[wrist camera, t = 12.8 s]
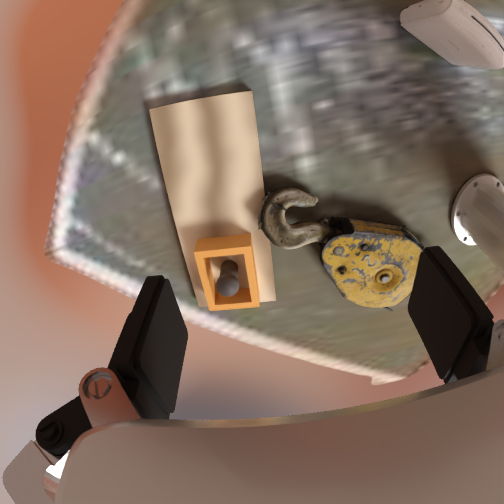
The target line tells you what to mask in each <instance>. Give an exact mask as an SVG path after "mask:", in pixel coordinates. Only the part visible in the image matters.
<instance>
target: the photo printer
mask: <svg viewBox="0 0 504 504" xmlns="http://www.w3.org/2000/svg"><path fill="white" fill-rule="evenodd" d="M400 22H401V26H402V27H403V28H405V29H406V30H407V31H408V32H409V33H411V34H412V35H413V36H415V37H416V38H417V39H419V40H420V41H421V42H423V43H424V44H425V45H427V46H428V47H429V48H430V49H432V50H433V51H434V52H436V53H437V54H438V55H440V56H441V57H442V58H444V59H445V60H446V61H448V62H449V63H451V64H453V65H460V66H471V67H481V68H490V69H500V68H503V67H504V39H503V38H502V37H501V35H500V34H499V33H498V31H497V30H496V29H495V28H494V26H493V25H491V23H490V22H489V21H488V20H487V19H486V18H485V17H484V16H483V15H481V14H480V13H479V12H478V11H477V10H476V9H474V8H473V7H472V6H470V5H469V4H468V3H466V2H465V1H463V0H425V1H422V2H419V3H416V4H413V5H410V6H409V7H408V8H406V9H404V10H403V11H402V12H401V14H400Z"/></svg>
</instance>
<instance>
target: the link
mask: <svg viewBox="0 0 504 504" xmlns="http://www.w3.org/2000/svg"><path fill="white" fill-rule="evenodd" d="M238 254H244V257H245V263H246V270H247V276H248V282H249V288H243V289H238V291H237V293H236V294H234V295H233V296H230V297H226V296H223V295H221V294H220V293H219V292H218V291H217V288H216V284H215V280H214V276H213V272H212V268H211V263H210V259H209V257H218V256H228V255H238ZM194 255H195V259H196V263H197V267H198V270H199V274H200V278H201V282H202V285H203V289H204V293H205V296H206V300H207V303H208V307H209V310H210V311H213V310H226V309H239V308H251V307H260V300H259V287H258V279H257V272H256V265H255V258H254V251H253V243H252V236H251V234H241V235H232V236H223V237H214V238H205V239H197V243H196V246H195V249H194Z"/></svg>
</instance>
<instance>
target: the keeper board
mask: <svg viewBox="0 0 504 504" xmlns="http://www.w3.org/2000/svg"><path fill="white" fill-rule="evenodd" d="M149 111H150V116H151V121H152V126H153V131H154V136H155V140H156V145H157V150H158V154H159V159H160V163H161V168H162V172H163V176H164V180H165V185H166V189H167V193H168V197H169V201H170V205H171V209H172V213H173V217H174V221H175V224H176V228H177V232H178V236H179V239H180V243H181V247H182V250H183V254H184V257H185V261H186V264H187V268H188V271H189V275H190V278H191V282H192V285H193V288H194V292H195V295H196V298H197V301H198V305H199V307H208V303H207V300H206V296H205V293H204V289H203V285H202V282H201V278H200V274H199V270H198V267H197V263H196V259H195V255H194V249H195V246H196V243H197V239H205V238H214V237H223V236H232V235H241V234H251V236H252V243H253V251H254V258H255V265H256V272H257V279H258V287H259V300H260V302H267V301H276V295H275V285H274V275H273V266H272V256H271V246H270V240H269V239H268V238H267V237H266V236H265V234H264V233H263V231H262V230H261V229H259V230H258V228H259V226H258V224H257V223H258V221H259V220H258V216H259V214H260V212H261V208H262V205H263V201H262V199H263V198H265V192H264V183H263V175H262V166H261V158H260V150H259V142H258V134H257V126H256V118H255V110H254V102H253V94H252V91H244V92H237V93H229V94H222V95H216V96H210V97H204V98H198V99H193V100H188V101H183V102H178V103H173V104H169V105H164V106H160V107H156V108H152V109H149ZM257 230H258V231H257ZM209 259H210V263H211V268H212V272H213V276H214V280H215V284H216V288H217V291H218V292H219V293H220V294H221V295H223V296H226V297H230V296H233V295H234V294H236V293H237V291H238V289H243V288H249V282H248V276H247V270H246V263H245V257H244V254H238V255H228V256H218V257H209Z"/></svg>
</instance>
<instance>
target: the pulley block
mask: <svg viewBox="0 0 504 504" xmlns="http://www.w3.org/2000/svg"><path fill="white" fill-rule="evenodd" d="M267 192H268V195H267V196H266V197H265V198H263V199H262V201H263V205H262V208H261V212H260V214H259V216H258V220H259V221H258V223H257V224H258V226H259V228H258V230H259V229H261V230H262V231H263V233H264V234H265V236H266V237H267V238H268V239H269V240H270V241H271V242H272V243H273V244H274V245H276V246H278V247H281V248H284V249H295V248H299V247H302V246H304V245H307V244H309V243H312V242H319V245H320V260H321V262H322V265H323V267H324V268H325V270H326V271H327V273H328V274H329V276H330V277H331V279H332V280H333V282H334V283H335V285H336V287H337V288H338V290H339V291H340V293H341V295H342V296H343V297H344V298H346V299H348V300H350V301H352V302H354V303H356V304H358V305H361V306H365V307H373V308H379V307H383V308H385V309H387V310H389V311H392V309H390V308H388V307H389V306H393V305H396V304H398V303H399V302H400V301H401V300H403V299H404V298H405V297H406V296H407V295H410V294H411V292H412V288H413V283H414V279H415V275H416V270H417V266H418V261H419V256H420V253H421V252H423V248H424V246H423V245H422V244H421V243H420V241H418V240H417V237H415V236H414V235H413V234H412V233H411V232H409V231H408V230H407V229H405V228H404V227H405V226H402V227H401V226H396V225H388V224H382V223H380V222H377V223H375V222H369V221H362V220H356V219H351V218H339V217H336V218H334V217H331V218H330V219H329V220H327V218H322V219H320V220H318V221H312V222H300V221H298V222H296V223H294V224H288V223H287V221H286V219H285V211H286V210H287V208H289V207H291V206H297V207H313V206H315V204H316V203H317V202H318V198H317V197H316V196H314V195H311V194H309V193H306V192H304V191H302V190H300V189H297V188H292V187H286V188H282V189H277V190H276V191H274V192H272V193H271V192H269V191H267ZM258 230H257V231H258Z"/></svg>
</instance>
